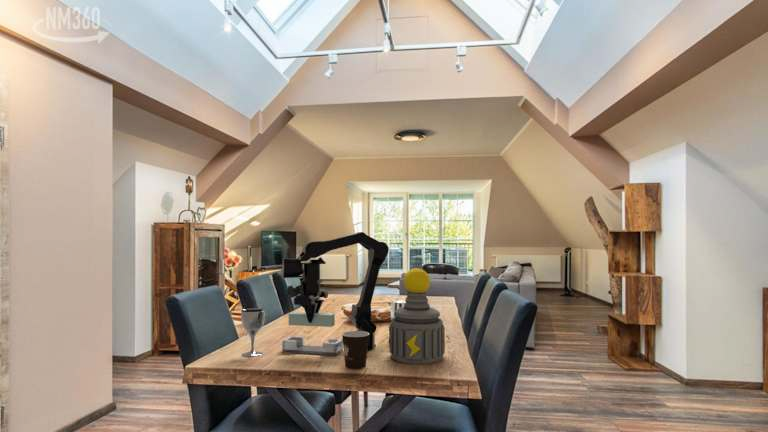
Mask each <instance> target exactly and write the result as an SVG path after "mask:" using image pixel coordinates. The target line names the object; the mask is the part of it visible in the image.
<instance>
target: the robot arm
mask: <svg viewBox="0 0 768 432" xmlns="http://www.w3.org/2000/svg"><path fill="white" fill-rule="evenodd" d="M357 244H359V245H360V246H362V247H363V248H365V250H367V259H368V264H367V265H368V266H367V269H366V273H365V277H364V280H363V285H362V289H361V292H360V295H359V299H358V301H357V303H356V304H352V305H351V311H350V313H349V316H350V321H351V323H352V324H353V325H354V326H355V329H357V330H356V331H364V332H368V333H369V342H368V350H367V351H373V349H374V348H375V347H377V344H376V343H375V342H376V341H375V340H376V339H375V338H376V336H375V334H376V332H377V329H378V328H377V325H376V324H374V322H373V321H372V305H371V304H372V300H373V297H374V292H375V289H376V285H377V281H378V277H379V273H380V269H381V267H382V265H383V263H384V262H385V261H386V258H387V256H388V254H389V249H390V248H389V246H388V244H387V243H386V242H384V241H378V240H377V239H376V238H373V237H372V236H370V235H368V234H366V233H365V232H363V231H362V232H361V231H359V232H355V233H352V234H349V235H345V236H339V237H336V238H331V239H329V240H318V241H317V240H314V241H307V242H305V243H304V244H303V246H302V251H301V253H300V254H299V255H298V256H297V258H288V257H287V258H282V265H281V277H282V279H297V278H298V279H299V278H300V277H301V276H302V275H303V280H301V281H300V285H297V286H295V285H294V284H292V285H288V286H287V289H286V295H288V296H289V298H290V299H292V298H293V305H296V306H297V305H298V306H301V307H302V308H303V309H304V313H306V316H307V319H308V322H309V323H312V320H313V317H314V314H315V313H320V310H321V309H322V305H323V303H324V302H325V299H327V298H329V292H328V291H327V289H321V283H322V282H323V280H322V279H321V265H326V264H327V263H326V261H325V260H324V259H323V257H321V256H322V255H325V254H327V253H329V252H331V251H334V250H337V249H342V248H345V247H349V246H353V245H357ZM321 298H324V299H321Z"/></svg>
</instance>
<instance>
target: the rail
mask: <svg viewBox="0 0 768 432" xmlns="http://www.w3.org/2000/svg"><path fill="white" fill-rule="evenodd" d="M335 316H336V315H335V313H334V312H333V313H327V312H326V313H325V312H319V313H315V314H314V317H313V320H312V323H309V322H308V319H307V316H306V312H297V311H296V312H295V311H294V312H293V311H292V312H290V313H288V326H296V327H297V326H299V327H302V326H305V327H325V328H327V327H328V328H332V327H335V325H336V324H335V321H336V319H335V318H336V317H335Z"/></svg>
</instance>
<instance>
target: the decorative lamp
mask: <svg viewBox="0 0 768 432" xmlns="http://www.w3.org/2000/svg"><path fill="white" fill-rule="evenodd" d="M403 285H404V289H405V290H406V291H407V293H406V296H407V297H405V300H404V301H406V303H405V304H404V307H401V308H399V309H397V310H395V311H394V316H395V317H394V318H392V319H391V318H390V320H391V322H390V324H389V326H388V332H389V333H388V335H389V336H388V346H389V354H391V355H390V356H391V358H392V359H393V360H394V361H397V362H399V363H403V364H409V365H430V364H434V363H437V362H438V363H439V362H440V361H441V360H442V359H443V356H444V355H445V354H446V353H445V352H446V336H445V335H446V332H445V331H446V328H445V325H444V324H443V323H444V321H443V320H442V319H441V318H439V317H440V316H441V313H440V311H439V310H438V309H436V308H434V307H431V306H430V304H429V299H428V297H427V296H428V294H427V291H428V290H429V289H430V286H431V279H430V276H429V274H428V273H427V271H425V270H424V269H422V268H418V267H417V268H416V267H415V268H412V269H409V270H408V271H407V272H406V273H405V275H404V277H403Z"/></svg>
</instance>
